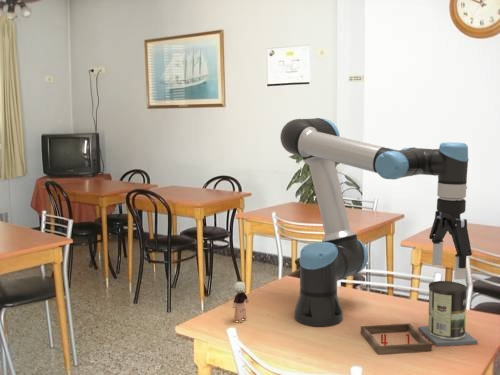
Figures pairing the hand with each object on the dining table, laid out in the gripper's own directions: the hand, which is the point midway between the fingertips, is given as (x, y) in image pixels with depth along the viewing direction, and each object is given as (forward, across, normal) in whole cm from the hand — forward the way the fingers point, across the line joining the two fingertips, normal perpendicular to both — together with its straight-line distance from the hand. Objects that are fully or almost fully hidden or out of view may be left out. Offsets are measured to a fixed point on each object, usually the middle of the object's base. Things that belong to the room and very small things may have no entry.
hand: (447, 271), depth 154 cm
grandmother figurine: (+20, +20, +58) cm, 64 cm away
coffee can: (+18, 0, 0) cm, 18 cm away
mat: (+19, 0, 0) cm, 19 cm away
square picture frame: (+19, -2, +16) cm, 25 cm away
